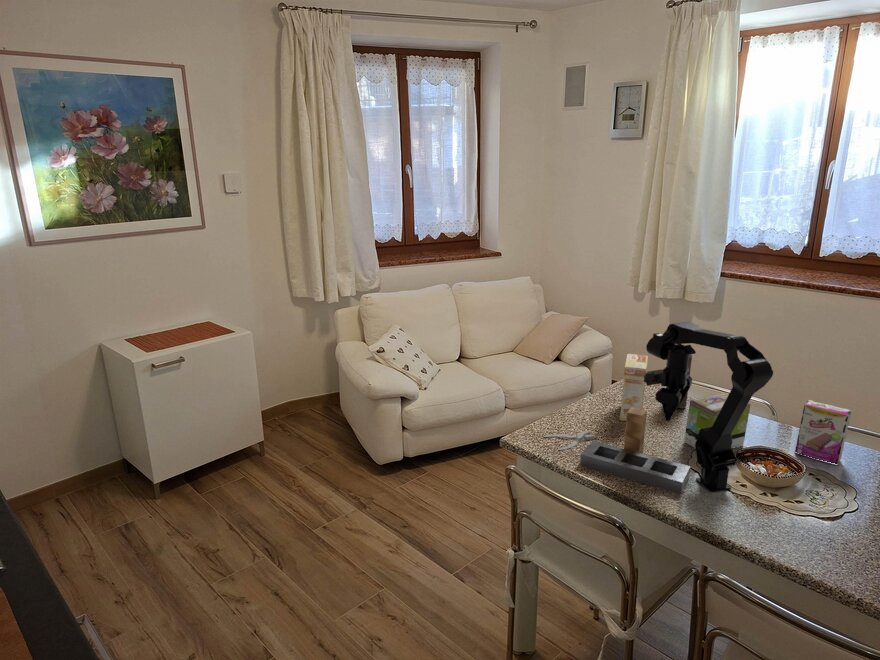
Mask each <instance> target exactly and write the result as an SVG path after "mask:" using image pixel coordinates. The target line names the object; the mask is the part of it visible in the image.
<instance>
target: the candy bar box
mask: <svg viewBox="0 0 880 660" xmlns="http://www.w3.org/2000/svg"><path fill="white" fill-rule="evenodd" d="M851 416H852V410H851V409H848V408H844V407H840V406H835V405H831V404H826V403H823V402H819V401H815V400H811V399H808V400H807V401H806V402H805V403H804V405H803V410H802V415H801V421H800V424H799V425H800V426H799V430H798V435H797V439H796V445H795V449H794V453H795V452H797V453H799V454H802V455H806V456H809V457H812V458H815V459H819V460H823V461H827V462H831V463H835V464H839V463H840V462H841V461H842V455H843V451H844V447H845V446H844V445H845V442H846V437H847V433H848V429H849V424H850V419H851ZM802 455H801V456H802ZM812 458H811V459H812ZM815 459H814V460H815ZM839 461H840V462H839ZM838 462H839V463H838Z"/></svg>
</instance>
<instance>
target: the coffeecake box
mask: <svg viewBox="0 0 880 660" xmlns="http://www.w3.org/2000/svg"><path fill="white" fill-rule="evenodd" d="M648 360H649V359H648V355H644V354H635V353H627V354H626V359H625V363H624V373H623V382H622V383H623V385H622V394H621V395H622V396H621V404H620V405H621V407H620V415H619V420H620V421H624V422H626V419H627V412H628V411H629V410H630V409H631V407H633V408H638V409H642V410H644V408H643V407H644V401H645V400H644V399H645V391H646V382H644V375H645V374H646V373H647V372H648V371H647V369H648Z"/></svg>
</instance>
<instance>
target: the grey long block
mask: <svg viewBox="0 0 880 660" xmlns="http://www.w3.org/2000/svg"><path fill="white" fill-rule="evenodd" d="M579 457H580V458H579V460H580V461H579V466H581V465H582V467H585V466H586V468H588V469H592V470H596V471H599V472H603V473H607V474H610V475H614V476H616V477H621V478H624V479H627V480H630V481H634V482H636V483H641V484H645V485H648V486H651V487H655V488H659V489H662V490H665V491H669V492H672V493H676V494H679V495H681V494H682V493H683V491H684V489H685V487H686V485H687V482H688V481H689V479H690V472H691V465H687V464H683V463H679V462H675V461H672V460H667V459H663V458H661V457H660V458H659V457H656V456H652V455H648V454H644V453H642V454H641V453H637V452H634V451H630V450H626V449H624V448H622V447H618V446H614V445H610V444H606V443H603V442H598V441H595V440H592V441H591V442H590V443H589V444H588V445H587V446H586V448H584V450H583V451H582V452H581V453H580V456H579Z"/></svg>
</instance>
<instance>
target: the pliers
mask: <svg viewBox="0 0 880 660" xmlns="http://www.w3.org/2000/svg"><path fill="white" fill-rule="evenodd" d="M590 433H591V431H589V430H587V431H586V430H585V431H581V432H578V433H576V435H569V434H562V433H560V434H559V433H556V434H555V433H554V434H548V435H543V436H542V438H543V437H550V438H558V437H560V438H559V439H561V438H563V439H562V440H565V439H570V438H572V439H574V440H573V441H572V440H571V439H570V440H569V441H568V443H567V445H566V446H563V447H560V448H557V449H556V450H561V451H566V450H565V449H567V450H570V449H572V447H573V448H575V447H576V446H578V444H579V443H580V442H581V440H582V441H589V440H590V441H591V440H595V434H590ZM564 437H567V438H564ZM579 441H580V442H579ZM571 442H572V443H571ZM578 442H579V443H578ZM577 443H578V444H577ZM574 446H575V447H574ZM569 448H570V449H569Z"/></svg>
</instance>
